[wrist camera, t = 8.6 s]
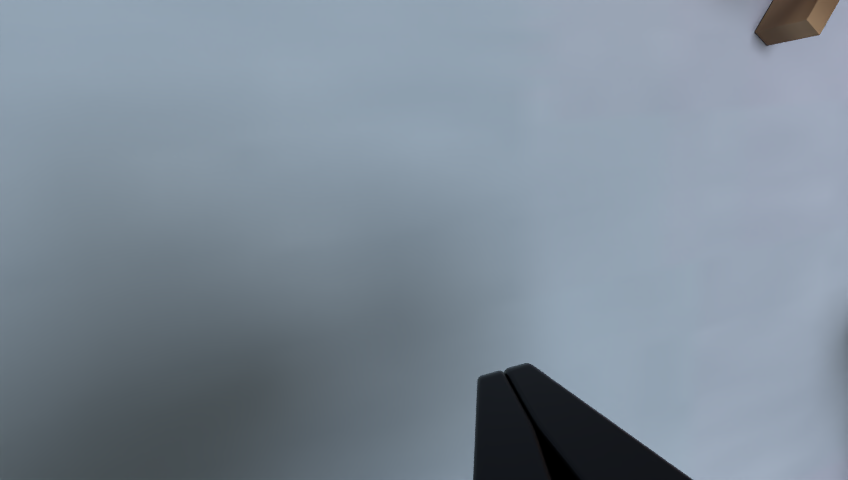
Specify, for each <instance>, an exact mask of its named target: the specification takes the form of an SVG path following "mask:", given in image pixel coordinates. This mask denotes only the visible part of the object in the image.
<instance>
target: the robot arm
mask: <svg viewBox="0 0 848 480" xmlns="http://www.w3.org/2000/svg"><path fill="white" fill-rule="evenodd" d="M473 480H693V479H691V478H690V477H688V476H687V475H686V474H684V473H683V472H681V471H680V470H679V469H677V468H676V467H674V466H673V465H672V464H670V463H669V462H667V461H666V460H665V459H663V458H662V457H660V456H659V455H658V454H656V453H655V452H653V451H652V450H651V449H649V448H648V447H646V446H645V445H644V444H642V443H641V442H639V441H638V440H637V439H635V438H634V437H632V436H631V435H630V434H628V433H627V432H625V431H624V430H623V429H621V428H620V427H618V426H617V425H616V424H614V423H613V422H611V421H610V420H609V419H607V418H606V417H604V416H603V415H602V414H600V413H599V412H597V411H596V410H595V409H593V408H592V407H590V406H589V405H588V404H586V403H585V402H583V401H582V400H581V399H579V398H578V397H576V396H575V395H574V394H572V393H571V392H569V391H568V390H567V389H565V388H564V387H562V386H561V385H560V384H558V383H557V382H555V381H554V380H553V379H551V378H550V377H548V376H547V375H546V374H544V373H543V372H541V371H540V370H539V369H537V368H536V367H534V366H533V365H531V364H529V363H524V364H521V365H517V366H514V367H510V368H507V369H506V370H505V371H504V373H503V372H502V371H496V372H493V373H489V374H486V375H482V376H480V377H479V378H478V381H477V403H476V427H475V450H474V474H473Z"/></svg>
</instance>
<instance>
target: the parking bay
mask: <svg viewBox="0 0 848 480" xmlns="http://www.w3.org/2000/svg"><path fill="white" fill-rule="evenodd" d="M838 2H839V0H773V2H772V4H771V5H770V7H769V9H768V10H767V12H766V14H765V16H764V17H763V19H762V21H761V22H760V24H759V26H758V28H757V29H756V31H755V33H756V34H757V35H758V36H759V37H760V38H761V39H762V40H763V41H764V42H765V43H766V45H767V46H768V45H773V44H778V43H782V42H787V41H792V40H797V39H802V38H807V37H812V36H816V35H820V33H821V32H822V30H823V28H824V26H825V25H826V23H827V21H828V19H829V18H830V16H831V14H832V12H833V11H834V9H835V7H836V5H837V4H838Z"/></svg>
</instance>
